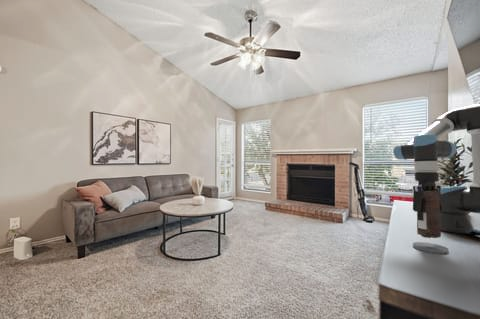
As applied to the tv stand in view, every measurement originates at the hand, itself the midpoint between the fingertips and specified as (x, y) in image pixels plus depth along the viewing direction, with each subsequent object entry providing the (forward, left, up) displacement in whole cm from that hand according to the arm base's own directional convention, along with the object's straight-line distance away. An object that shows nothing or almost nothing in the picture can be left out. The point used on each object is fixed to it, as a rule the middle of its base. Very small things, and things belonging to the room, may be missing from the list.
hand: (428, 227), depth 90 cm
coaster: (0, 0, -9) cm, 9 cm away
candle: (0, 0, -4) cm, 4 cm away
